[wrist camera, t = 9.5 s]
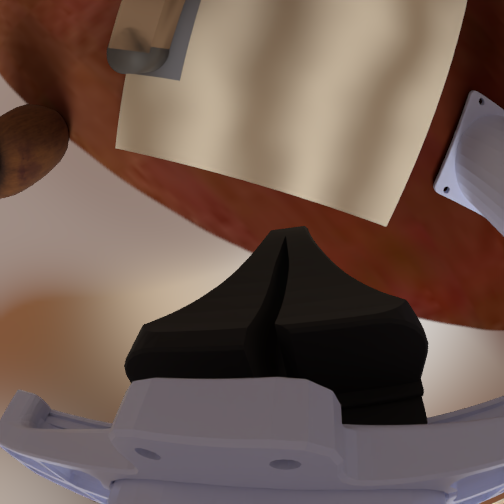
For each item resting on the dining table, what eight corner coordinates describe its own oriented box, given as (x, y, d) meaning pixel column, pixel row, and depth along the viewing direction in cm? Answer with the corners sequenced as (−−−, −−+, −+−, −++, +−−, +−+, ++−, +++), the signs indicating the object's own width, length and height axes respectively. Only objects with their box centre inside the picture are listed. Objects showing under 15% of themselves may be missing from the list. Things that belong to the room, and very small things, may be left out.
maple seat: (458, -34, 10) (475, -43, 8) (378, 210, 21) (386, 227, 19) (201, -105, 10) (190, -120, 8) (132, 139, 21) (114, 148, 18)
